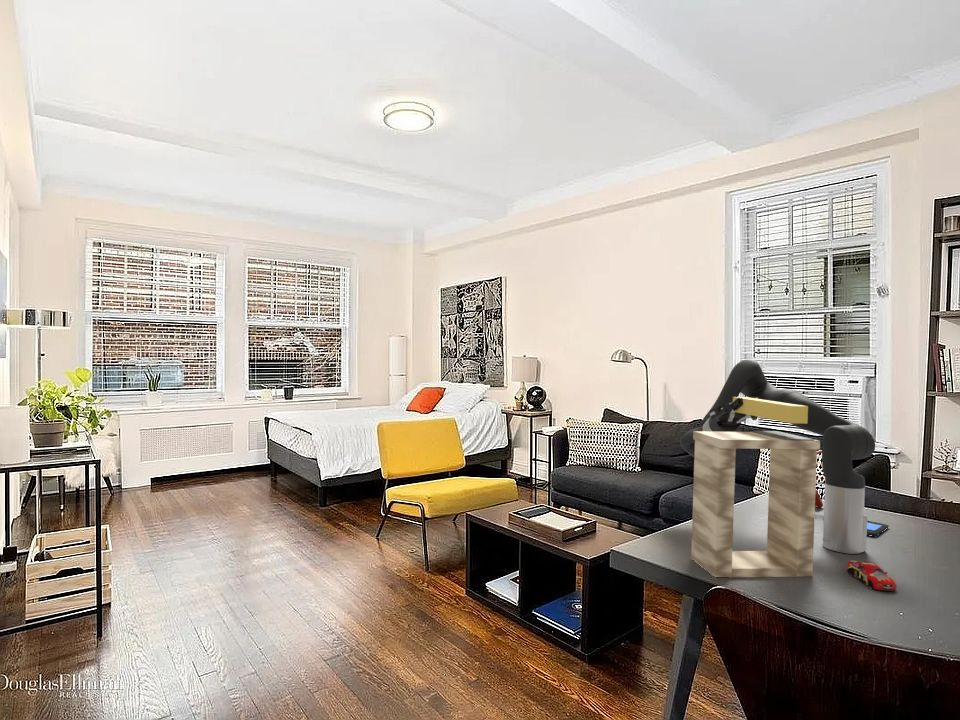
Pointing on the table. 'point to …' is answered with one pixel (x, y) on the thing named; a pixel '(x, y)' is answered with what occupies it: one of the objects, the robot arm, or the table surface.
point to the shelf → (785, 507)
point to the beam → (774, 410)
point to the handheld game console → (875, 528)
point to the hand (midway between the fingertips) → (749, 400)
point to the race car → (871, 575)
